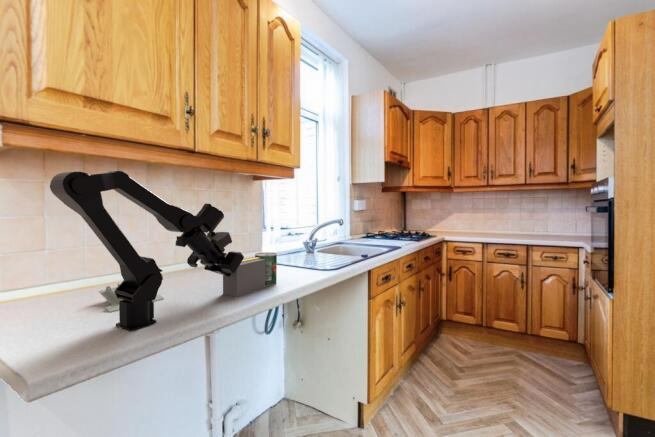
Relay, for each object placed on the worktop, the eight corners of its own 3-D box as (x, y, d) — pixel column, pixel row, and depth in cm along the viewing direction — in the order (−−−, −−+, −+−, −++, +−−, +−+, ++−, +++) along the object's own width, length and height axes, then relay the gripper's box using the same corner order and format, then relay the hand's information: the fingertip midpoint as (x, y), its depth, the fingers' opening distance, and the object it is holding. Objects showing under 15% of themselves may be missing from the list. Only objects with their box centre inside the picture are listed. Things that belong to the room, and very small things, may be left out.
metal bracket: (89, 285, 94) (143, 275, 106) (87, 303, 95) (141, 292, 108) (112, 308, 87) (167, 295, 99) (110, 328, 88) (164, 312, 100)
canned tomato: (250, 283, 121) (250, 253, 121) (269, 280, 126) (269, 251, 126) (261, 287, 115) (261, 256, 115) (280, 284, 120) (280, 254, 120)
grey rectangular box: (236, 297, 104) (236, 264, 103) (222, 294, 106) (222, 262, 106) (265, 287, 116) (265, 258, 115) (252, 285, 119) (252, 256, 118)
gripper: (239, 224, 95) (264, 257, 105) (194, 222, 103) (221, 252, 114) (218, 255, 88) (246, 287, 98) (172, 250, 97) (203, 279, 107)
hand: (229, 275), depth 104 cm, fingers closed, pressing on grey rectangular box
